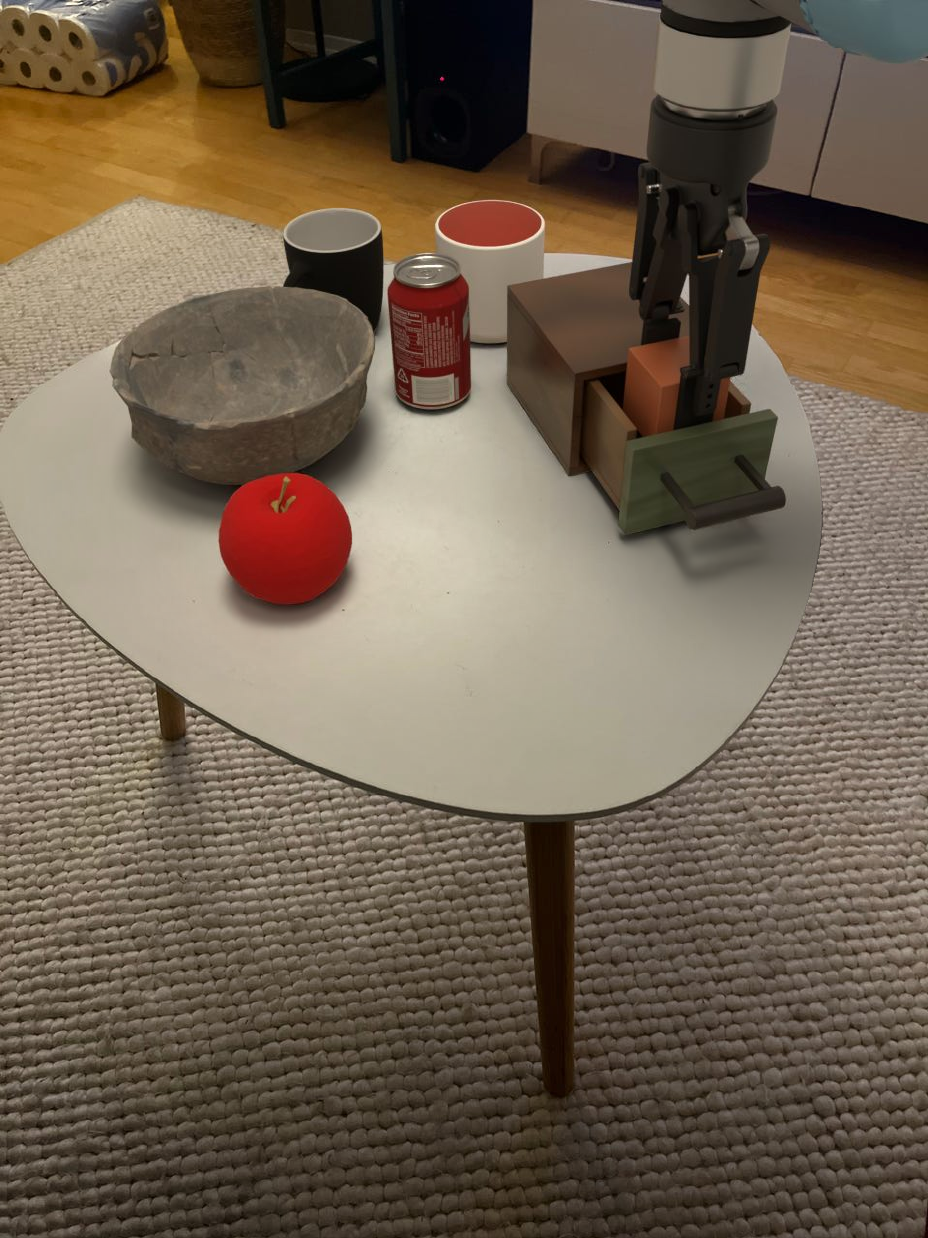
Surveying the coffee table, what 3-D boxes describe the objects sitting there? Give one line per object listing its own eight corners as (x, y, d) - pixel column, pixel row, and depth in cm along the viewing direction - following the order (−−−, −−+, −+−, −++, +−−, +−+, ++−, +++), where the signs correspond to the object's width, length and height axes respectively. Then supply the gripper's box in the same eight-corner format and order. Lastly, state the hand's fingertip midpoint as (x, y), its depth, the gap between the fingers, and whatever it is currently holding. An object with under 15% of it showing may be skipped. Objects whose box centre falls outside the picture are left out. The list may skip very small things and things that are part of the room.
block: (720, 435, 79) (732, 371, 75) (653, 451, 78) (661, 386, 74) (686, 396, 83) (696, 333, 79) (622, 411, 82) (628, 347, 78)
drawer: (800, 548, 78) (822, 462, 73) (658, 585, 76) (671, 499, 70) (679, 408, 91) (691, 326, 86) (556, 436, 89) (559, 353, 83)
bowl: (329, 360, 100) (316, 259, 93) (427, 478, 87) (420, 371, 80) (110, 424, 93) (78, 321, 86) (180, 562, 80) (149, 453, 73)
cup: (550, 301, 106) (553, 203, 99) (531, 354, 100) (534, 252, 92) (452, 292, 108) (449, 195, 101) (428, 343, 101) (422, 243, 94)
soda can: (463, 418, 92) (460, 290, 84) (388, 412, 93) (376, 285, 85) (477, 376, 97) (475, 251, 89) (405, 370, 98) (395, 246, 90)
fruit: (257, 644, 74) (231, 534, 67) (213, 568, 80) (185, 459, 72) (377, 597, 77) (365, 487, 70) (327, 527, 83) (310, 419, 75)
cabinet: (708, 444, 89) (725, 341, 82) (569, 476, 86) (574, 373, 80) (634, 356, 99) (643, 258, 92) (506, 383, 96) (507, 284, 89)
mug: (338, 297, 108) (326, 199, 101) (408, 322, 104) (401, 221, 97) (256, 350, 101) (238, 248, 94) (328, 378, 97) (314, 275, 90)
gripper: (857, 143, 58) (778, 480, 75) (699, 41, 71) (661, 350, 87) (734, 164, 57) (682, 504, 73) (595, 56, 69) (577, 367, 86)
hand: (671, 420), depth 80 cm, fingers closed on block, 5 cm apart
